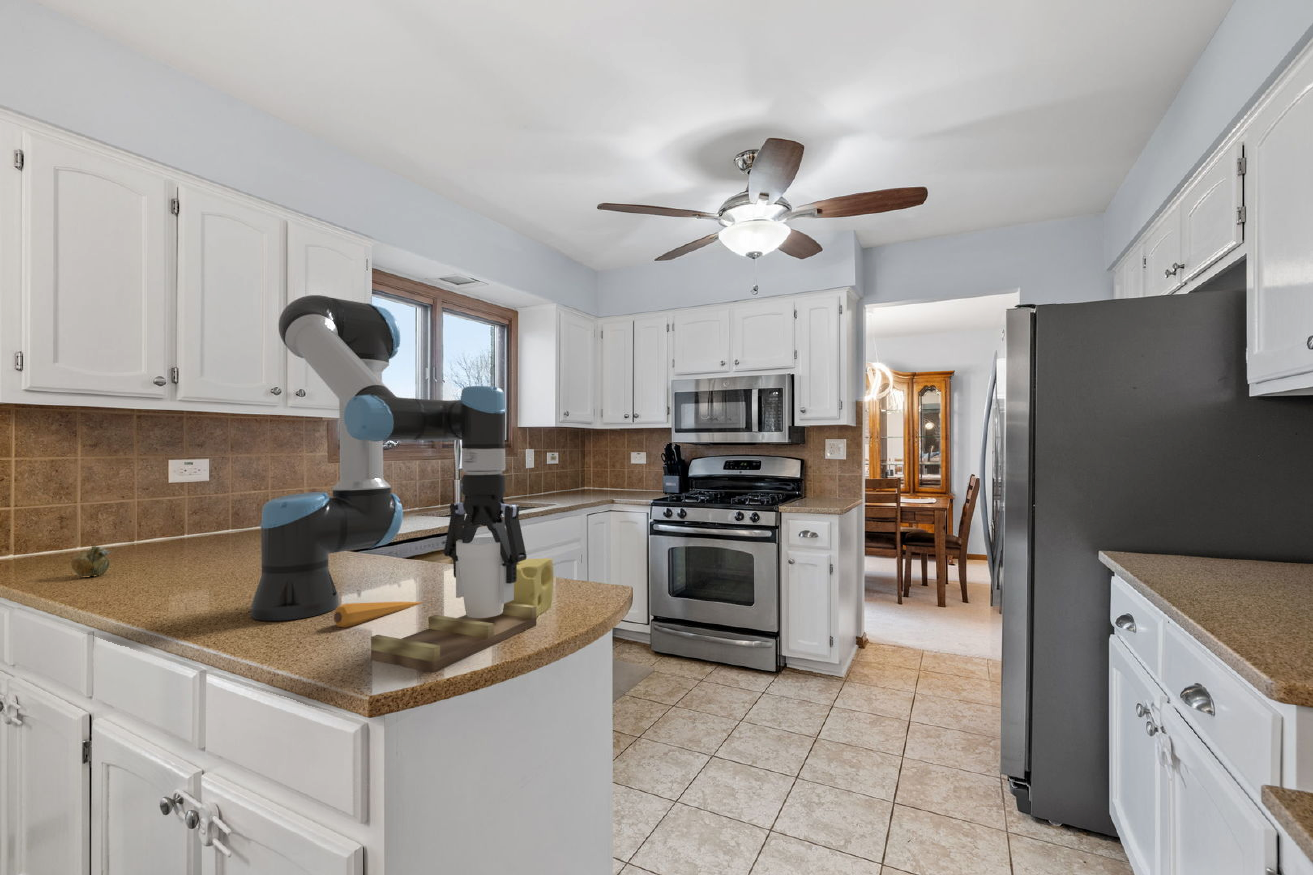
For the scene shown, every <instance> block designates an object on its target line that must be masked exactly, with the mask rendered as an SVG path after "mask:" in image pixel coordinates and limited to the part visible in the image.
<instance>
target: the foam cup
mask: <svg viewBox="0 0 1313 875" xmlns="http://www.w3.org/2000/svg"><path fill="white" fill-rule="evenodd" d="M456 555H457V556H458V563H459V570H460V577H461V584H462V591H463V597H462V598H463V604H464V605H463V606H464V611H465V615H467V616H468V617H472V618H488V617H493V616H497V615H500V614H502V612H503V607H504V604H503V603H500V566H501V565H502V564H503V563H504V561H503V559H502V557H501V554H500V543H499V542H495V540H494V537H493V535H487V536H486V535H485V536H474V538H473V540H472V541H471V542H470V543H463V542H462V540H458V541H456Z"/></svg>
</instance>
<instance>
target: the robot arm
mask: <svg viewBox="0 0 1313 875" xmlns="http://www.w3.org/2000/svg"><path fill="white" fill-rule="evenodd" d="M400 331H401V329H400V326H399V324H398V322H397V319H396V318H395V316H394V315H393V314H392V312H391V311H389V310H388V309H387V308H385V307H381V306H377V305H373V304H371V303H366V302H359V301H352V300H347V299H342V298H341V299H340V298H337V297H332V296H331V297H330V296H326V295H320V294H316V295H315V294H312V295H311V294H310V295H306V296H302V297H299V298H297V299H295V300H293V301H291V302H289V304H288V305H286V306H285V308H284V309H283V310H282V312H281V314H280V316H279V320H278V334H279V336H280V339H281V340H282V342H283V345H285V346H286V348H287V349H288V351H290V353H292V354H293V355H295V356H296V357H297V358H301V359H303V360H305V361H306V362H307V363H308V365H309V366H310V367H311V368H312V370H313V371H315V373H316V374H317V376H319V377H320V379H321V380H322V381H323V382H324V383H325V385H326V386H327V387H328V389H330V391H332V393H333V394H334V395H335V396H336V398H338V403H339V404H338V406H339V409H338V410H339V412H338V413H339V414H338V415H339V417H338V418H339V421H338V422H339V478H340V479H339V482H337V484H335V485H334V486H333V487H332V491H331V492H332V497H330V496H329V493H328V492H326V491H309V492H301V493H294V494H289V495H284V496H280V497H276V498H273V499H271V500H269V501H267V502H265V504H264V505H263V506H262V508H261V509H262V510H261V522H260V532H261V533H260V534H261V535H260V537H261V540H260V541H261V576H260V579H259V581H258V585H257V587H256V590H255V593H254V596H253V599H252V601H251V604H250V617H251V619H254V620H256V621H257V620H258V621H263V622H264V621H265V622H267V621H268V622H276V621H278V622H279V621H290V620H299V619H303V618H310V617H314V616H319V615H323V614H325V613H329V612H331V611H334V610H336V609H337V608H338V607H339V593H338V591H337V589H336V586H335V582H334V581H333V577H332V575H331V572H330V570H329V569H330V568H329V554H335V553H342V552H348V551H349V552H350V551H354V550H355V551H356V550H361V549H374V548H376V547H379V546H380V547H381V546H385V545H388V544H389V543H392V541H393V540H395V537H396V536H397V535H398V534H399V532H400V529H401V526H402V525H403V524H402V523H403V516H404V509H403V505H402V503H401V500H400V498H399V496H397V495H396V493H395V494H394V493H393V492H392V486H391V485H390V483H388V482H387V481H386V480H385V478H384V441H386V442H387V441H431V442H432V441H433V442H449V441H461V469H462V471H463V472H464V473H465V474H463V475H462V476H461V493H462V495H463V496H464V500H463V501H459V502H452V503H450V505H449V511H450V518H449V524H448V530H447V534H446V538H445V539H446V540H445V543H444V544H445V545H444V551H443V554H444V556H445V557H449V558H451V560H452V562H453V565H452V566H453V570H452V571H453V577H454V579H455V598H457V599H460V598H463V591H462V584H461V577H460V570H459V563H458V556H457V555H456V541H458V540H462V542H463V543H470V542H471V541H472V540H473V538H474V537H476V536H475V535H476V533H477V531H478V529H479V528H480V527H481V526H484V527H487V530H488V531H489V532H490V533H491V536H493V537H494V540H495V542H499V543H500V554H501V557H502V559H503V561H504V563H503V564H502V565H501V566H500V603H503V604H504V603H507V602H510V601H512V600H514V582H516V580H517V563H518V562H520V561H523V560H526V559H528V558H527V552H526V547H525V543H524V537H523V533H522V532H523V531H522V527H521V522H520V518H519V516H520V505H519V504H516V503H515V504H507V503H506V502H505V500H504V495H505V494H506V490H507V489H506V487H507V486H506V475H505V474H504V473H503V471H505V470H506V468H507V467H506V466H507V465H506V411H507V409H506V401H505V392H504V390H503V389H502V388H500V387H497V386H488V385H486V386H485V385H472V386H470V385H469V386H465V387H463V388H462V389H461V395H460V399H453V400H452V399H451V400H450V399H449V400H447V399H446V400H443V399H442V400H441V399H426V398H425V399H424V398H422V399H421V398H414V397H413V398H412V397H411V398H408V397H399V396H396V395H395V394H394V393H393V392H392V391H391V389H389V388H388V387H387V386H386V385H385V384H384V382H383V372H384V371H385V370H386V369H387V367H389V366H390V360H391V359H393V358H394V357H395V356H396V355H397V353H398V352H399V347H400V346H401V333H400Z"/></svg>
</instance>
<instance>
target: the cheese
mask: <svg viewBox="0 0 1313 875" xmlns="http://www.w3.org/2000/svg"><path fill="white" fill-rule="evenodd" d="M554 577H555V576H554V563H553V558H550V557H549V558H526V560H523V561H520V562H518V563H517V580H516V582H514V600H512V601H510V602H509V603H516V604H524V605H532V606H536V619H538V617H539V616H540V615H542V614H543V613H544V612H545V611H547V610H549V609H551V607H552V601H553V593H554V582H555V581H554V580H555V579H554ZM537 616H538V617H537Z"/></svg>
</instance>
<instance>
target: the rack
mask: <svg viewBox="0 0 1313 875" xmlns="http://www.w3.org/2000/svg"><path fill="white" fill-rule="evenodd" d="M535 625H536V626H537V618H536V606H532V605H524V604H516V603H509V602H507V603H504V607H503V612H502V614H500V615H497V616H493V617H488V618H472V617H468V616H467V615H466V614H464V615H461V616H459V617H453V616H452V617H451V616H445V615H441V614H439V615H438V614H432V615H430V616H428V628H426V629H424V630H421V631H418V632H415V633H413V634H409V635H407V636H405V637H403V638H398V637H393V636H388V635H381V634H375V635H372V636H370V660H371V661H378V662H381V663H382V662H383V663H386V664H387V663H388V664H391V665H396V666H401V667H407V668H413V669H415V670H416V669H417V670H421V671H427V672H430V673H431V672H432V673H436V672H437V671H438V672H439V671H440V670H442V669H443V668H446V667H448V666H451V665H452V664H455V663H457V662H459V661H461V660H464V659H466V658H468V657H470V656H472V655H474V654H477V653H478V652H481V651H483V650H486V649H487V648H489V647H491V646H494V645H496V644H499V643H500V642H504V641H505V640H507V639H510V638H511V637H514V636H515V635H518V634H520V633H522V632H524V630H525V631H527V630H529V629H531V628H534V627H536V626H535ZM533 626H534V627H533ZM526 629H527V630H526Z"/></svg>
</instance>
